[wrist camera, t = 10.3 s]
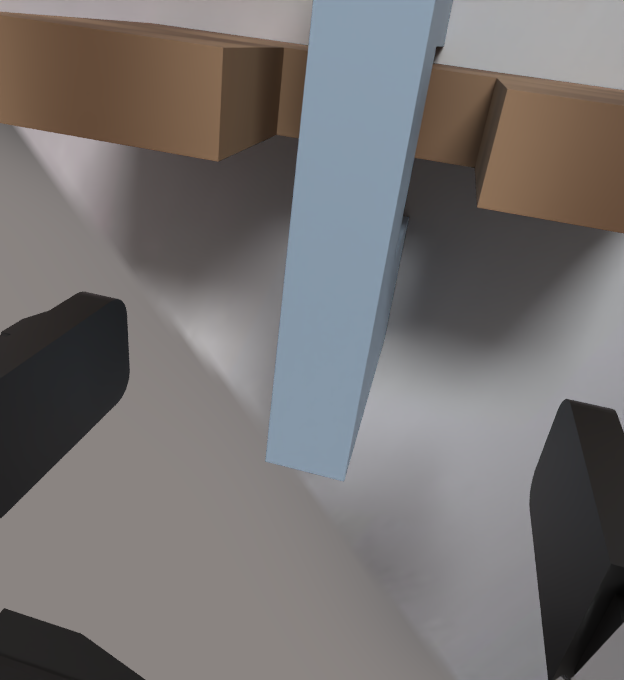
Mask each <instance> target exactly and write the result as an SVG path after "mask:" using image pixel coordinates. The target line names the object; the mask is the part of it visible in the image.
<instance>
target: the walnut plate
mask: <svg viewBox="0 0 624 680" xmlns="http://www.w3.org/2000/svg"><path fill="white" fill-rule="evenodd" d="M308 47H309V46H308V45H301V44H294V43H287V42H280V41H272V40H265V39H258V38H251V37H244V36H237V35H230V34H223V33H216V32H209V31H202V30H195V29H188V28H181V27H174V26H167V25H160V24H152V23H141V22H128V21H115V20H101V19H88V18H75V17H62V16H48V15H35V14H22V13H9V12H0V123H3V124H9V125H15V126H20V127H26V128H32V129H37V130H43V131H48V132H54V133H60V134H65V135H71V136H77V137H82V138H88V139H94V140H99V141H105V142H111V143H116V144H122V145H128V146H133V147H139V148H145V149H150V150H156V151H161V152H167V153H173V154H178V155H184V156H190V157H195V158H201V159H207V160H212V161H221V160H223V159H225V158H227V157H229V156H231V155H234V154H236V153H238V152H240V151H242V150H245V149H247V148H249V147H251V146H253V145H255V144H258V143H260V142H262V141H264V140H266V139H268V138H271V137H273V136H275V135H281V136H287V137H293V138H299V133H300V124H301V114H302V104H303V95H304V85H305V75H306V66H307V56H308ZM414 158H419V159H425V160H431V161H437V162H443V163H449V164H455V165H461V166H467V167H473V168H475V181H476V198H477V207H478V208H483V209H489V210H495V211H500V212H506V213H512V214H517V215H523V216H529V217H534V218H540V219H546V220H551V221H557V222H563V223H568V224H574V225H579V226H585V227H591V228H596V229H602V230H608V231H613V232H619V233H624V90H618V89H611V88H604V87H597V86H590V85H583V84H576V83H569V82H562V81H555V80H548V79H541V78H534V77H526V76H519V75H512V74H505V73H498V72H491V71H484V70H477V69H470V68H463V67H456V66H449V65H442V64H435V63H433V66H432V71H431V76H430V81H429V86H428V91H427V96H426V101H425V106H424V111H423V117H422V122H421V127H420V132H419V137H418V142H417V147H416V152H415V157H414Z"/></svg>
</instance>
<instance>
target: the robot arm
mask: <svg viewBox="0 0 624 680" xmlns="http://www.w3.org/2000/svg"><path fill="white" fill-rule="evenodd" d="M129 373H130V369H129V348H128V326H127V311H126V307H125V304H124V303H123V302H122V301H121V300H119V299H115V298H111V297H106V296H101V295H97V294H93V293H88V292H79V293H77V294H75V295H74V296H72V297H71V298H69V299H67V300H66V301H64V302H62V303H61V304H59V305H58V306H56V307H54V308H53V309H51V310H49V311H47V312H43V313H40V314H37V315H34V316H31V317H28V318H24V319H22V320H20V321H19V322H17V323H16V324H14V325H12V326H10V327H9V328H7V329H5V330H4V331H2V332H1V335H0V518H2V517H3V516H4V515H5V514H6V513H7V512H8V511H9V510H10V509H11V508H12V507H13V506H14V505H15V504H16V503H17V502H18V501H19V500H20V499H21V498H22V497H23V496H24V495H25V494H26V493H27V492H28V491H29V490H30V489H31V488H32V487H33V486H34V485H35V484H36V483H37V482H38V481H39V480H40V479H41V478H42V477H43V476H44V475H45V474H46V473H47V472H48V471H49V470H50V469H51V468H52V467H53V466H54V465H55V464H56V463H57V462H58V461H59V460H60V459H61V458H62V457H63V456H64V455H65V454H66V453H67V452H68V451H69V450H71V449H72V448H73V447H74V446H75V445H76V444H77V443H78V442H79V441H80V440H81V439H82V437H84V436H85V435H86V434H87V433H88V432H89V431H90V430H91V429H92V428H93V427H94V426H95V425H96V423H98V422H99V421H100V420H101V419H102V418H103V417H104V416H105V415H106V414H107V413H108V412H109V411H110V410H111V409H112V408H113V407H114V406H115V405H116V404H117V403H118V402H119V401H120V399H121V398H122V396H123V394H124V392H125V390H126V387H127V384H128V380H129ZM530 516H531V525H532V534H533V543H534V553H535V562H536V571H537V580H538V590H539V599H540V608H541V617H542V627H543V636H544V645H545V655H546V664H547V673H548V680H624V432H623V429H622V426H621V424H620V421H619V418H618V416H617V413H616V411H615V410H613V409H610V408H606V407H601V406H597V405H592V404H588V403H583V402H578V401H574V400H569V399H565V400H564V401H563V402H562V403H561V405H560V407H559V409H558V411H557V414H556V416H555V419H554V422H553V424H552V427H551V429H550V432H549V435H548V437H547V440H546V443H545V445H544V448H543V451H542V453H541V456H540V459H539V461H538V464H537V467H536V469H535V472H534V476H533V480H532V484H531V490H530ZM0 680H145V679H143V678H142V677H141V676H139V675H138V674H137V673H135V672H134V671H132V670H131V669H130V668H128V667H127V666H125V665H124V664H123V663H121V662H120V661H118V660H117V659H116V658H114V657H113V656H112V655H110V654H109V653H107V652H106V651H105V650H103V649H102V648H101V647H99V646H98V645H96V644H95V643H94V642H92V641H91V640H89V639H88V638H86V637H85V636H84V635H82V634H80V633H77V632H74V631H71V630H68V629H65V628H62V627H59V626H56V625H53V624H50V623H47V622H44V621H41V620H38V619H35V618H32V617H29V616H26V615H23V614H20V613H17V612H14V611H11V610H8V609H5V608H4V609H3V610H2V611H1V613H0Z"/></svg>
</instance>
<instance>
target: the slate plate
mask: <svg viewBox="0 0 624 680" xmlns="http://www.w3.org/2000/svg"><path fill="white" fill-rule="evenodd" d="M452 2H453V0H313V8H312V18H311V27H310V37H309V47H308V56H307V66H306V75H305V85H304V95H303V104H302V114H301V124H300V133H299V143H298V152H297V162H296V172H295V181H294V191H293V200H292V210H291V220H290V229H289V239H288V249H287V258H286V268H285V277H284V287H283V297H282V306H281V316H280V325H279V335H278V345H277V354H276V364H275V374H274V383H273V393H272V402H271V412H270V422H269V431H268V441H267V450H266V460H265V461H266V462H269V463H274V464H277V465H281V466H286V467H289V468H293V469H297V470H301V471H305V472H309V473H313V474H316V475H320V476H324V477H328V478H332V479H336V480H340V481H344V480H345V476H346V473H347V469H348V466H349V462H350V459H351V455H352V452H353V448H354V445H355V441H356V437H357V434H358V430H359V427H360V423H361V420H362V416H363V413H364V409H365V406H366V402H367V399H368V395H369V392H370V388H371V385H372V381H373V378H374V374H375V371H376V367H377V363H378V360H379V356H380V353H381V349H382V346H383V342H384V339H385V334H386V329H387V324H388V319H389V314H390V309H391V304H392V299H393V294H394V290H395V285H396V280H397V275H398V270H399V265H400V260H401V255H402V250H403V245H404V240H405V235H406V230H407V225H408V220H409V217H405V216H403V213H404V208H405V203H406V198H407V193H408V188H409V183H410V178H411V172H412V167H413V162H414V157H415V152H416V147H417V142H418V137H419V132H420V127H421V122H422V117H423V111H424V106H425V101H426V96H427V91H428V86H429V81H430V76H431V71H432V66H433V61H434V56H435V50H436V46H443V47H444V42H445V37H446V32H447V27H448V22H449V17H450V12H451V7H452Z"/></svg>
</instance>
